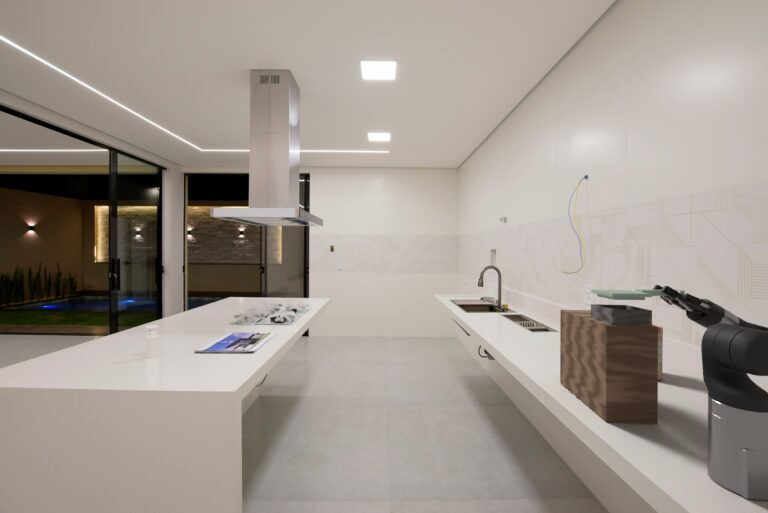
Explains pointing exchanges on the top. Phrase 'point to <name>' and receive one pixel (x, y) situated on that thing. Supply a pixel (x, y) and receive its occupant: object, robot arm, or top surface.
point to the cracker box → (660, 351)
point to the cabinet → (611, 361)
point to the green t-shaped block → (629, 294)
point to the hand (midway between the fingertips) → (659, 288)
